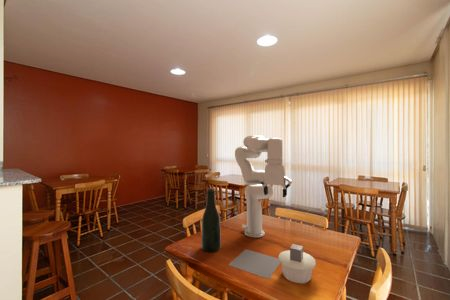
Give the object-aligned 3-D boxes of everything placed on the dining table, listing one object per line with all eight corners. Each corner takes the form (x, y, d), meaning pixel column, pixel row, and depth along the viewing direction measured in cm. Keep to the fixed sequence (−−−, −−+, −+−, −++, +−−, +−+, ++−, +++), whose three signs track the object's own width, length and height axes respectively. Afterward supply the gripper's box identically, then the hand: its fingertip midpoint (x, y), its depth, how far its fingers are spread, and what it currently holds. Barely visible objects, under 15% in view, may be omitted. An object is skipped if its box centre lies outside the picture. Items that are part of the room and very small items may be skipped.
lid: (273, 263, 90) (273, 250, 90) (284, 249, 102) (284, 236, 102) (312, 274, 82) (312, 259, 82) (318, 257, 95) (318, 244, 94)
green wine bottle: (198, 251, 114) (198, 189, 114) (205, 242, 125) (205, 186, 124) (217, 254, 112) (216, 190, 111) (223, 245, 122) (222, 186, 121)
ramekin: (317, 275, 93) (318, 259, 93) (305, 291, 83) (305, 273, 83) (289, 264, 102) (289, 249, 102) (275, 277, 92) (275, 261, 92)
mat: (228, 265, 100) (228, 265, 100) (245, 249, 116) (245, 249, 116) (268, 279, 90) (268, 278, 90) (282, 260, 105) (282, 259, 105)
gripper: (256, 162, 112) (256, 195, 112) (289, 163, 102) (289, 199, 103) (261, 161, 118) (262, 192, 118) (294, 162, 109) (294, 196, 109)
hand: (275, 195), depth 110 cm, fingers open, 9 cm apart
